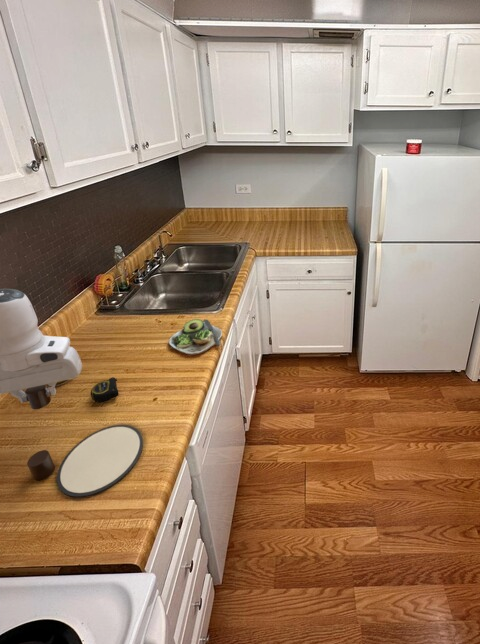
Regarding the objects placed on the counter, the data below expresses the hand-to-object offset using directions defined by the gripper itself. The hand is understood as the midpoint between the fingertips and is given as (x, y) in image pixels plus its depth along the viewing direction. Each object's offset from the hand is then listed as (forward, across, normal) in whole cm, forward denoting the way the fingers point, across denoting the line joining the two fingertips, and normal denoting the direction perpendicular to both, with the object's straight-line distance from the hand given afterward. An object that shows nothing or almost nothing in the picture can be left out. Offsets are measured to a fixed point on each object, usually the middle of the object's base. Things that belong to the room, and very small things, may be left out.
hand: (39, 397), depth 83 cm
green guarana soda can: (+12, -3, +21) cm, 25 cm away
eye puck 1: (+2, 0, 0) cm, 2 cm away
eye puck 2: (+12, +2, -12) cm, 17 cm away
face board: (+12, +14, -13) cm, 22 cm away
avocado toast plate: (+11, +38, +27) cm, 48 cm away
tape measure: (+12, +12, +9) cm, 19 cm away
